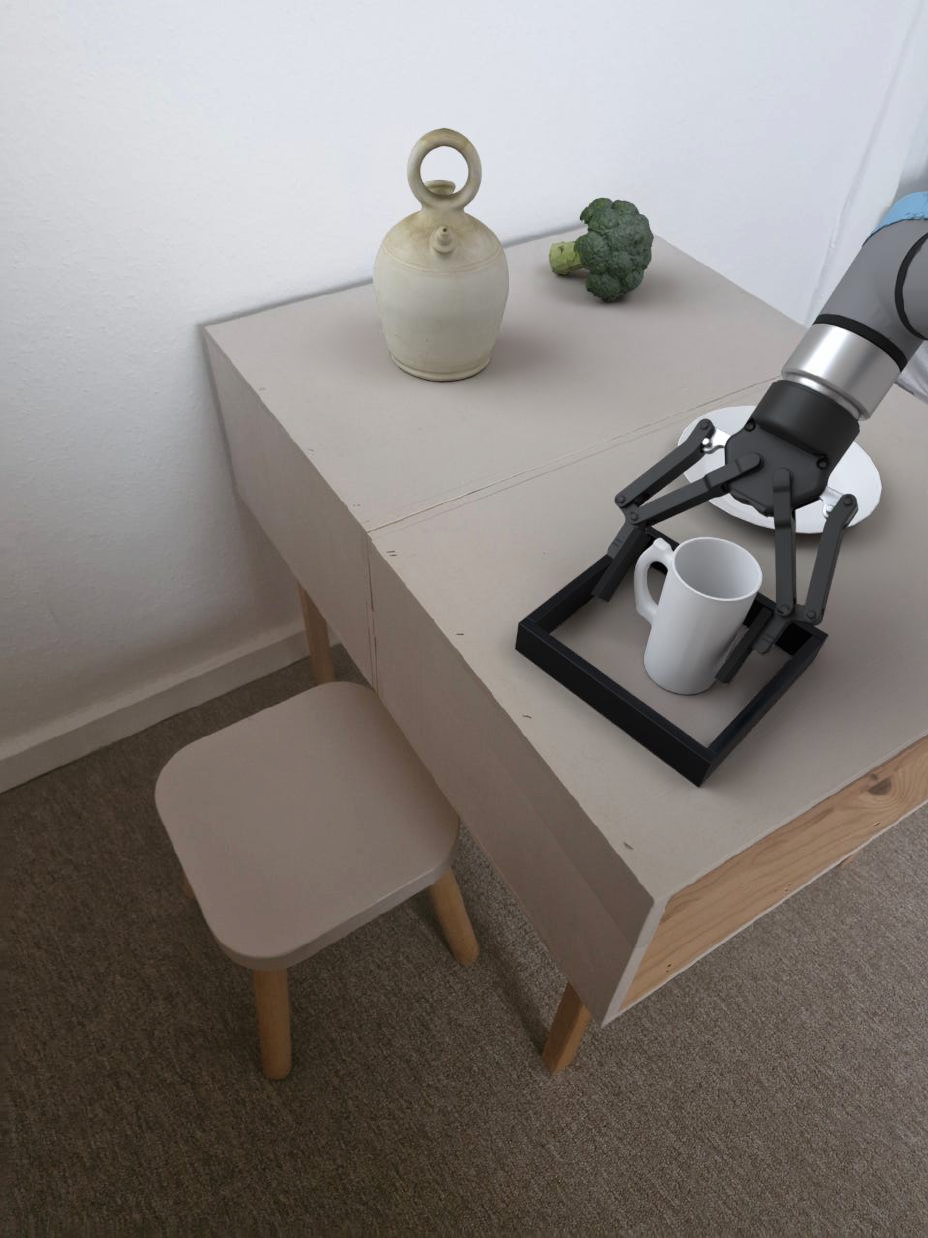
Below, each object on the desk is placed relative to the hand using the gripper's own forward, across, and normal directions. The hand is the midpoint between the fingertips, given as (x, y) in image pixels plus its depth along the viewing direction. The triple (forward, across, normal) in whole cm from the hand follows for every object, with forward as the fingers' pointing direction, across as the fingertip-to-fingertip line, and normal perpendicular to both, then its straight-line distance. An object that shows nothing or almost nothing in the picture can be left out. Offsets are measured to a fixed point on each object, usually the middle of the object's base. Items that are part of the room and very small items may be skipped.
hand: (658, 638), depth 69 cm
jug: (-12, +47, -19) cm, 52 cm away
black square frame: (+1, 0, -5) cm, 5 cm away
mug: (+1, 0, -5) cm, 5 cm away
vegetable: (-32, +45, -38) cm, 67 cm away
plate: (-18, +6, -25) cm, 32 cm away
